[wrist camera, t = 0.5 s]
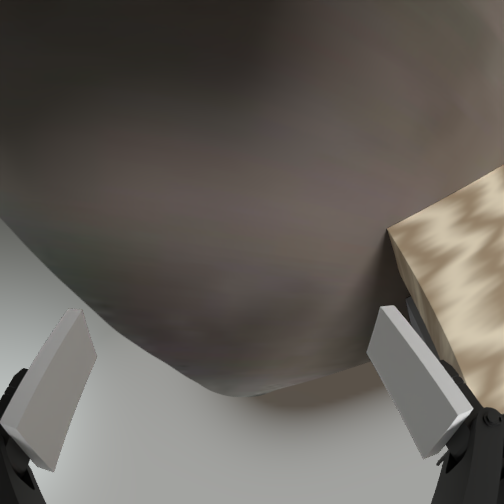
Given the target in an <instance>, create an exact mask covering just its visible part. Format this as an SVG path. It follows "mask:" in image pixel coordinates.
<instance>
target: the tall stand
mask: <svg viewBox="0 0 504 504" xmlns="http://www.w3.org/2000/svg"><path fill="white" fill-rule="evenodd" d="M387 230H388V234H389V237H390V240H391V244H392V247H393V251H394V254H395V258H396V262H397V265H398V269H399V273H400V275H401V277H402V279H403V281H404V283H405V285H406V287H407V289H408V291H409V293H410V295H411V297H412V299H413V301H414V303H415V305H416V307H417V309H418V311H419V313H420V315H421V317H422V319H423V321H424V323H425V326H426V328H427V330H428V332H429V334H430V336H431V339H432V341H433V343H434V345H435V348H436V350H437V352H438V355H439V357H440V360H444V361H446V362H447V363H449V364H450V365H451V366H453V368H454V369H455V370H456V371H457V373H458V374H459V377H461V378H462V379H463V381H464V383H466V385H467V386H468V387H469V389H470V390H471V391H472V393H473V394H474V395H475V397H476V398H477V400H478V401H479V402H480V404H481V405H482V406H483V407H484V408H485V407H492V408H494V409H496V410H497V411H499V412H500V413H501V414H504V165H502V166H501V167H499V168H497V169H495V170H494V171H492V172H490V173H488V174H487V175H485V176H483V177H481V178H480V179H478V180H476V181H474V182H473V183H471V184H469V185H467V186H466V187H464V188H462V189H460V190H458V191H457V192H455V193H453V194H451V195H449V196H447V197H446V198H444V199H442V200H440V201H438V202H436V203H435V204H433V205H431V206H429V207H427V208H425V209H423V210H422V211H420V212H418V213H416V214H414V215H412V216H410V217H408V218H406V219H405V220H403V221H401V222H399V223H397V224H395V225H393V226H391V227H389V228H387Z"/></svg>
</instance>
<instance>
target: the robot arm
mask: <svg viewBox="0 0 504 504" xmlns="http://www.w3.org/2000/svg"><path fill="white" fill-rule="evenodd" d="M366 353H367V355H368V357H369V358H370V360H371V362H372V364H373V365H374V367H375V369H376V371H377V372H378V374H379V376H380V378H381V380H382V382H383V383H384V385H385V387H386V389H387V391H388V393H389V394H390V396H391V398H392V400H393V402H394V404H395V406H396V407H397V409H398V411H399V413H400V415H401V417H402V419H403V421H404V422H405V425H406V426H407V428H408V430H409V432H410V434H411V436H412V438H413V440H414V442H415V444H416V446H417V448H418V450H419V452H420V454H421V456H422V458H423V459H425V458H427V457H430V456H433V455H435V454H437V453H439V452H440V451H441V449H442V448H443V447H444V446H445V445H446V446H447V448H448V449H449V450H448V451H447V452H446V453H445V454H444V456H442V457H441V459H440V460H439V461H438V462H437V465H438V466H439V465H440V463H441V462H442V461H443V460H444V462H443V465H442V469H441V473H440V477H439V481H438V483H437V487H436V490H435V493H434V496H433V499H432V503H431V504H504V414H501V413H500V412H499V411H497V410H496V409H494V408H492V407H485V408H484V407H483V406H482V405H481V404H480V402H479V401H478V400H477V398H476V397H475V395H474V394H473V393H472V391H471V390H470V389H469V387H468V386H467V385H466V383H464V381H463V379H462V378H461V377H459V374H458V373H457V371H456V370H455V369H454V368H453V366H451V365H450V364H449V363H447V362H446V361H444V360H439V361H438V359H437V358H436V357H435V355H434V354H433V353H432V352H431V350H430V349H429V348H428V346H427V345H426V344H425V343H424V341H423V340H422V339H421V338H420V336H419V335H418V334H417V333H416V331H415V330H414V329H413V328H412V326H411V325H410V324H409V323H408V322H407V320H406V319H405V318H404V317H403V315H402V314H401V313H400V312H399V311H398V309H397V308H396V307H395V306H394V305H391V306H380V309H379V313H378V316H377V320H376V323H375V326H374V330H373V333H372V336H371V340H370V343H369V346H368V349H367V352H366ZM96 358H97V355H96V352H95V349H94V346H93V343H92V340H91V337H90V334H89V331H88V327H87V324H86V320H85V317H84V313H83V310H82V309H67V311H66V312H65V314H64V315H63V317H62V318H61V320H60V321H59V323H58V324H57V325H56V327H55V328H54V330H53V331H52V333H51V334H50V336H49V338H48V339H47V340H46V342H45V344H44V345H43V347H42V348H41V350H40V351H39V353H38V355H37V356H36V358H35V359H34V361H33V363H32V364H31V366H30V368H29V369H25V368H23V369H22V370H20V371H19V372H18V373H17V374H16V375H15V376H14V377H13V379H12V381H11V382H10V384H9V387H7V389H6V391H5V394H4V395H3V396H2V398H1V400H0V504H46V502H45V500H44V498H43V496H42V494H41V492H40V490H39V487H38V485H37V483H36V480H35V478H34V475H33V473H32V470H31V468H30V467H29V465H28V463H29V460H30V459H31V460H32V462H33V463H34V464H35V465H36V466H37V467H40V468H42V469H46V470H49V471H52V472H54V471H55V467H56V464H57V461H58V458H59V455H60V452H61V449H62V446H63V443H64V440H65V437H66V434H67V431H68V429H69V426H70V423H71V420H72V417H73V415H74V412H75V410H76V407H77V404H78V402H79V399H80V397H81V394H82V392H83V389H84V387H85V384H86V382H87V379H88V377H89V375H90V372H91V370H92V367H93V365H94V363H95V361H96Z"/></svg>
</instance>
